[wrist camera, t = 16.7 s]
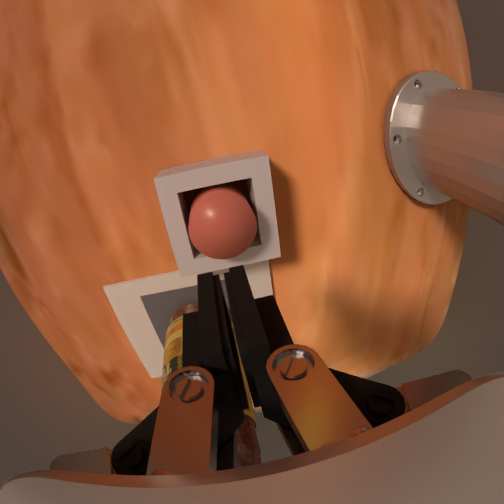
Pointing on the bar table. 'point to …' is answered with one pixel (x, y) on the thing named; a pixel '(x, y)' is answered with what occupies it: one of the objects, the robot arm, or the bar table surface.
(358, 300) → the bar table surface
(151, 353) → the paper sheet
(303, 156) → the bar table surface
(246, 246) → the button
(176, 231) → the button housing
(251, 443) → the sauce bottle
